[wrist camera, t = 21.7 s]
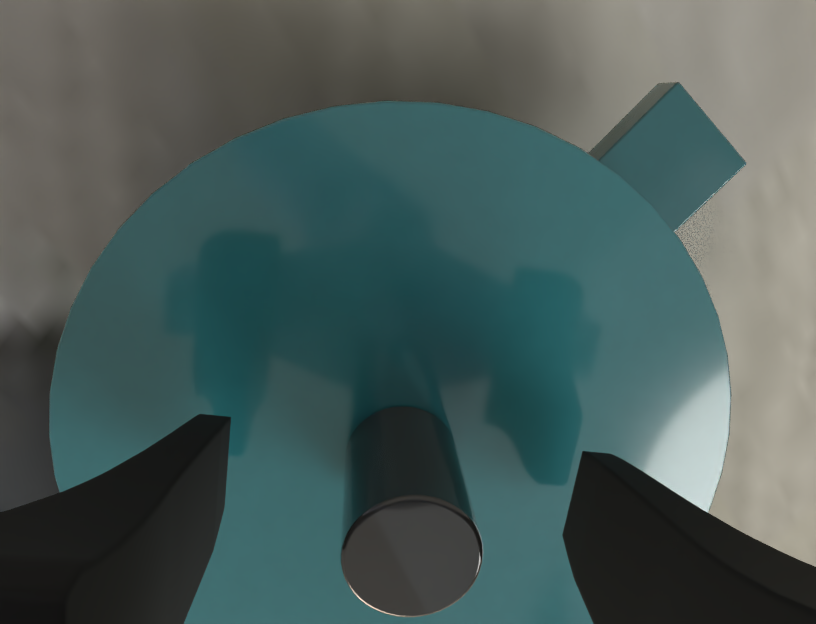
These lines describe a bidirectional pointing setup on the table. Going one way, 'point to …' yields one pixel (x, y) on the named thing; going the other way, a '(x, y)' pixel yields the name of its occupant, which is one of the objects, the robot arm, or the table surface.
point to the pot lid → (396, 360)
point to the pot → (670, 153)
